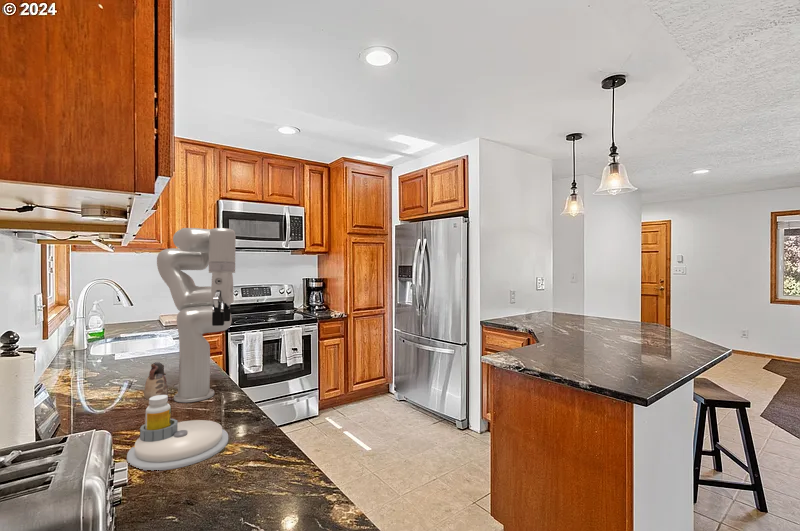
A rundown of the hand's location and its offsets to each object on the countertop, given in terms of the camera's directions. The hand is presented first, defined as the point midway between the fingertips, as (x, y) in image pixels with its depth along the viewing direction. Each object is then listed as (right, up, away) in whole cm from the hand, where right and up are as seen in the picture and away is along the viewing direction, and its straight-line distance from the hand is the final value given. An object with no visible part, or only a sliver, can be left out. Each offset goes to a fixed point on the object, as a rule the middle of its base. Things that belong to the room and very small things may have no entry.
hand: (221, 323), depth 118 cm
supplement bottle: (-5, -25, -23) cm, 34 cm away
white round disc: (0, -27, -22) cm, 35 cm away
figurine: (-31, -29, +17) cm, 45 cm away
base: (0, -28, -22) cm, 36 cm away
